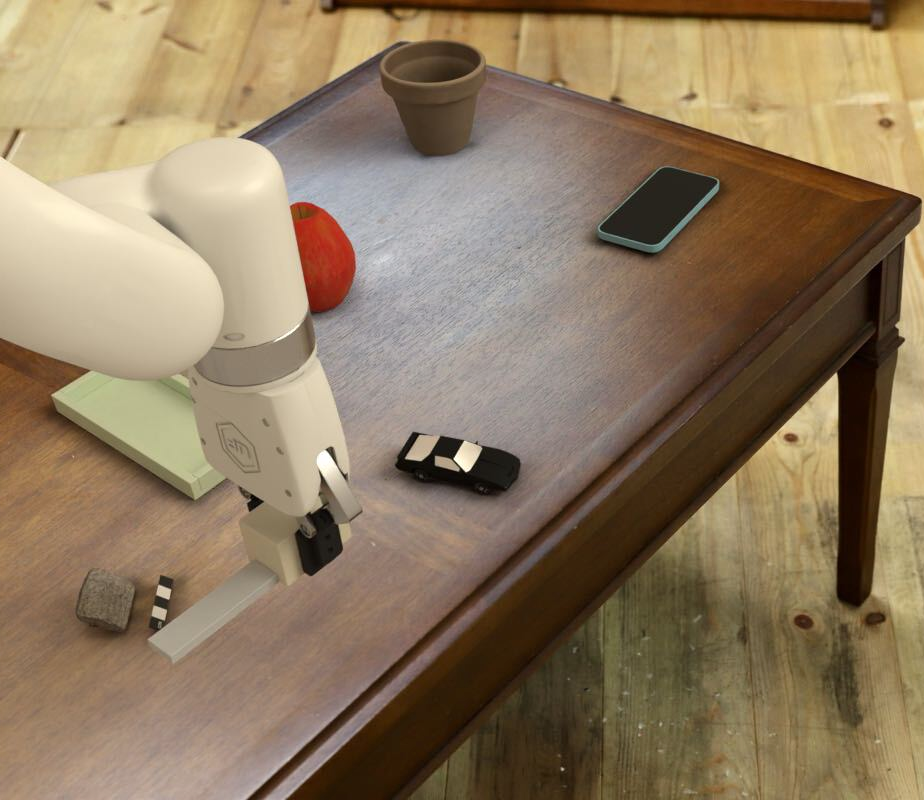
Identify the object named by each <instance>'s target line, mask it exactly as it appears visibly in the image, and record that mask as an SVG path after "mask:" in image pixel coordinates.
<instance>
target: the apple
mask: <svg viewBox="0 0 924 800" xmlns="http://www.w3.org/2000/svg"><path fill="white" fill-rule="evenodd" d="M290 210H291V215H292V220H293V225H294V231H295V236H296V241H297V246H298V251H299V256H300V262H301V267H302V272H303V277H304V282H305V287H306V292H307V297H308V302H309V307H310V312H319V313H322V312H326V311H331V310H334V309H336V308H337V307H338V306H339V305H341V304H342V303H343V302H344V300H345V299H346V297H347V295H348V294H349V291H350V290H351V287H352V285H353V282H354V279H355V274H356V270H357V263H356V262H357V261H356V252H355V249H354V246H353V244H352V242H351V240H350V239H349V237H348V236H347V234H346V232H345V231H344V229H343V228H342V227H341V225H340V224H339V222H338V221H337V220H336V219H335V218H334V217H333V216H332V215H331V214H330V213H329V212H328V211H327V210H326V209H324V208H322V207H320V206H318V205H316V204H315V203H312V202H307V201H296V202H294V203H292V204H290Z"/></svg>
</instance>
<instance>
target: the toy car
mask: <svg viewBox="0 0 924 800" xmlns="http://www.w3.org/2000/svg"><path fill="white" fill-rule="evenodd" d="M396 459H397V460H396V462H395V464H394V467H395V468H396V469H397V470H398V471H400V472H403V473H406V474H408V475H412V476H413V477H414V479H415V480H416V481H418V482H419V483H423V484H425V483H428V482H429V481H430V479H431V480H432V481H436V482H441V483H445V484H450V485H454V486H459V487H465V488H469V489H473V490H474V491H475V492H476V493H477V494H479V495H482V496H483V495H484V496H486V495H488V494H489V493H490V492H491V490H493V491H497V492H498V491H499V492H507V491H508V490H509V489H510V488H511V487H512V486H513V485H514V484H515V482H516V481H517V480H518V479H519V474H520V470H521V465H522V463H521V459H520V458H519V457H518V456H516V455H515V454H513V453H511V452H509V451H505V450H503V449H501V448H498V447H497V448H496V447H491V446H486V445H481V444H479V441H478V440H476V441H475V442H472V441H468V440H465V439H461V438H456V437H450V436H445V435H433V434H428V433H422V432H419V431H412V432H411V434H410V436H409V437H408V438H407V440H406V441H405V443H404V445H403V447H402V448H401V449H400V451H399V453H398V454H397V456H396Z"/></svg>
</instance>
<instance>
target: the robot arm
mask: <svg viewBox="0 0 924 800" xmlns="http://www.w3.org/2000/svg"><path fill="white" fill-rule="evenodd" d="M290 206H291V204H290V200H289V196H288V190H287V184H286V180H285V175H284V172H283V169H282V167H281V164H280V163H279V161H278V159H277V157H275V155H274V154H273V153H272V152H271V151H269V149H268V148H266V147H264V146H263V145H262V144H260V143H257V142H255V141H252V140H249V139H246V138H242V137H235V136H234V137H233V136H219V137H218V136H217V137H209V138H202V139H198V140H194V141H191V142H188V143H185V144H183V145H180V146H178V147H176V148H174V149H172V150H171V151H169V152H168V153H166V154H165V155H164V156H162V157H161V158H160V159H157V160H155V161H151V162H146V163H142V164H138V165H133V166H127V167H122V168H117V169H112V170H111V169H110V170H106V171H100V172H93V173H88V174H82V175H77V176H74V177H68V178H64V179H60V180H57V181H54V182H50V183H48V184H46V183H44V182H42V181H40V180H39V179H37V178H35V177H34V176H32V175H30V174H29V173H27V172H26V171H24V170H22V169H21V168H19V167H17V166H16V165H15V164H13V163H12V162H10V161H8V160H7V159H5V158H4V157H2V156H1V155H0V339H2V340H4V341H6V342H9V343H11V344H14V345H17V346H18V347H21V348H23V349H26V350H29V351H32V352H35V353H37V354H40V355H43V356H46V357H48V358H52V359H55V360H58V361H61V362H64V363H68V364H70V365H74V366H76V367H80V368H82V369H86V370H89V371H95V372H98V373H101V374H104V375H107V376H111V377H114V378H119V379H124V380H135V381H150V380H160V379H163V378H167V377H171V376H174V375H176V374H181V373H183V372H185V371H187V377H188V378H187V379H189V387H190V394H191V400H192V405H193V411H194V416H195V420H196V425H197V430H198V434H199V438H200V442H201V446H202V450H203V453H204V456H205V458H206V460H207V462H208V463H209V464H210V465H211V466H212V467H213V468H214V469H215V470H216V471H218V472H219V473H220V474H222V475H223V476H225V477H226V479H228V480H229V481H231V482H233V483H234V484H236V485H237V490H238V492H239V493H240V495H241V496H242V497H243V498H244V499H246V500H247V502H246V505H247V510H248V513H249V512H251V511H252V510H253V509H255V508H256V507H258V506H259V505H260V504H262V503H263V502H266V503H268V504H269V505H271V506H273V507H274V508H276V509H278V510H280V511H281V512H283V513H286V514H288V515H291V516H295V517H296V520H297V523H298V526H299V528H300V529H298V530H297V532H296V533H295V537H296V541H297V546H298V550H299V554H300V559H301V563H302V567H303V571H304V573H305V574H306V575H307V576H309V577H313V576H314V575H316V574H317V573H318V572H320V571H321V570H322V569H324V568H325V567H326V566H327V565H329V564H330V563H332V562H333V561H335V560H336V559H337V557H339V556H340V555H342V553H343V551H344V544H342V540H341V535H340V530H339V525H338V524H348V523H349V524H350V523H351V522H352V521H353V520H354V519H356V518H357V517H358V516H360V515H361V514H362V513H363V510H364V509H363V507H362V505H361V504H360V502H359V500H358V499H357V497H356V495H355V494H354V492H353V490H352V488H351V487H350V485H349V484H348V483H349V482H350V478H351V466H350V465H351V464H350V458H349V452H348V447H347V446H348V445H347V442H346V438H345V432H344V429H343V425H342V422H341V419H340V418H341V417H340V415H339V412H338V408H337V405H336V401H335V398H334V395H333V392H332V389H331V386H330V383H329V381H328V377H327V375H326V373H325V371H324V368H323V365H322V362H321V360H320V359H319V358H318V357H317V353H318V343H317V339H316V332H315V328H314V323H313V318H312V313H311V312H312V311H310V307H309V302H308V297H307V292H306V287H305V282H304V277H303V272H302V267H301V262H300V256H299V251H298V246H297V241H296V236H295V231H294V225H293V220H292V215H291V210H290ZM318 496H319V497H320V499H321V502H322V505H323V506H322V507H320V508H319V509H317V510H316V511H315V512H313V513H312V514H311V512H310V511H311V510H313V509H314V508H315V506H316V503H317V499H318Z"/></svg>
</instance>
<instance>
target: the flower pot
mask: <svg viewBox="0 0 924 800" xmlns="http://www.w3.org/2000/svg"><path fill="white" fill-rule="evenodd" d="M378 69H379V74H380V81H381V87H382V89H383V91H384V93H386V94H387V95H388V96H389V97H391V98H392V100H393V103H394V105H395V107H396V110H397V112H398V115H399V118H400V120H401V123H402V126H403V128H404V130H405V133H406V135H407V137H408V140H409V142H410V144H411V146H412V147H413V149H414V150H415V151H417V152H419V153H420V154H422V155H428V156H435V157H438V156H439V157H440V156H441V157H442V156H449V155H452V154H455V153H458V152H459V151H462V150H463V149H464V148H466V147H467V146H468V144H469V142H470V139H471V134H472V130H473V125H474V120H475V114H476V106H477V100H478V94H479V91H481V89H482V88H483V86H484V85H485V83H486V79H487V60H486V56H485V54H484V53H483V52H482V50H480V49H479V48H478V47H476V46H474V45H472V44H469V43H467V42H463V41H459V40H454V39H441V38H440V39H435V38H434V39H424V40H418V41H413V42H409V43H405V44H403V45H401V46H398V47H395V48H394V49H393V50H390V51H389V52H388V53H386V54H384V56H383V57H382V58H381V60H380V61H379V68H378Z"/></svg>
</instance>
